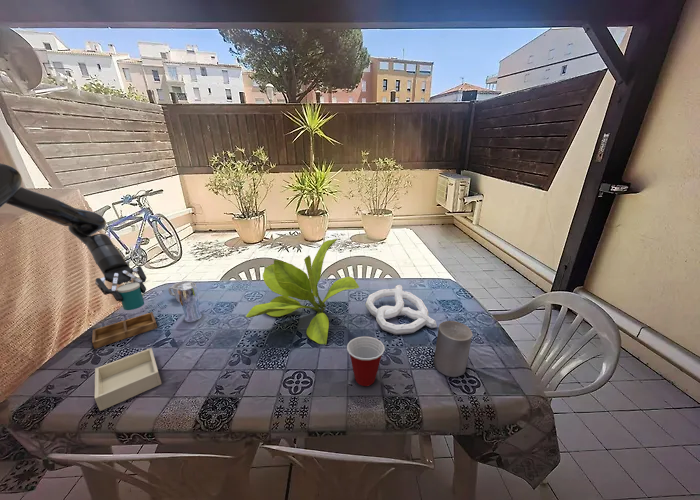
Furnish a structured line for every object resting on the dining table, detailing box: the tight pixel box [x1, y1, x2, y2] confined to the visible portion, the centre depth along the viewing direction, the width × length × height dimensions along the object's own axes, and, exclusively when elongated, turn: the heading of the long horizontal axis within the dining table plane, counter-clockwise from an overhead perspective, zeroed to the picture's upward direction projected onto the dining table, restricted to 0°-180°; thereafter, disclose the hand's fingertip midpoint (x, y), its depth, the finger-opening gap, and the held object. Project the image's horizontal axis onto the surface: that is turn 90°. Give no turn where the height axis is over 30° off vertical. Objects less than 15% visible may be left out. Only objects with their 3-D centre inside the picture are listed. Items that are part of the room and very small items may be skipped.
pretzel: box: [365, 284, 438, 335], centre depth 112 cm, size 28×24×6 cm
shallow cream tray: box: [94, 347, 162, 412], centre depth 79 cm, size 14×14×5 cm
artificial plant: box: [245, 238, 360, 345], centre depth 106 cm, size 42×43×30 cm
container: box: [116, 282, 145, 311], centre depth 99 cm, size 6×6×8 cm
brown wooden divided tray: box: [91, 311, 158, 350], centre depth 101 cm, size 18×9×3 cm, turn 131°
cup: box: [167, 280, 192, 303], centre depth 123 cm, size 11×8×8 cm
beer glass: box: [177, 281, 203, 323], centre depth 108 cm, size 7×7×15 cm
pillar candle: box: [433, 320, 474, 378], centre depth 84 cm, size 10×10×15 cm
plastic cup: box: [346, 336, 386, 387], centre depth 79 cm, size 11×11×12 cm
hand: (133, 296), depth 98 cm, fingers closed on container, 6 cm apart
